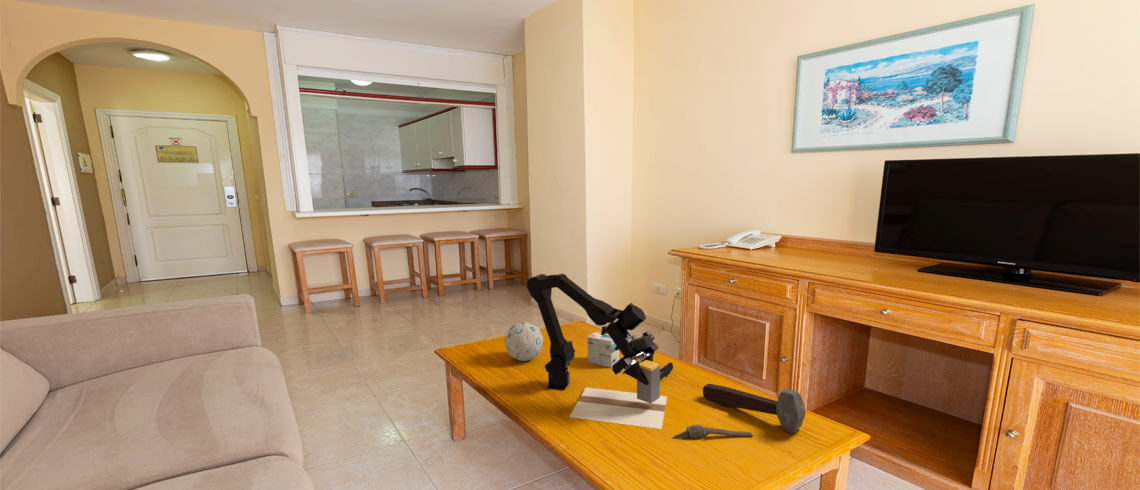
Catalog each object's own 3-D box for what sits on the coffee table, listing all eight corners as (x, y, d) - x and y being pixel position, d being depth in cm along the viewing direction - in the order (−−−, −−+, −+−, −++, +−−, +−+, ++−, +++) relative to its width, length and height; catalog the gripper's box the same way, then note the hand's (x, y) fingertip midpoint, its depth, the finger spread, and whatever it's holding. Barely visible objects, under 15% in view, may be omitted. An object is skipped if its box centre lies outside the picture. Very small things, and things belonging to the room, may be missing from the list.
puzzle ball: (523, 349, 194) (522, 315, 192) (551, 357, 185) (550, 321, 183) (497, 361, 182) (496, 324, 180) (526, 370, 173) (525, 331, 171)
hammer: (702, 411, 148) (799, 436, 126) (699, 376, 147) (796, 396, 125) (710, 406, 151) (806, 430, 129) (707, 372, 151) (803, 390, 128)
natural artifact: (670, 442, 127) (668, 427, 129) (751, 437, 127) (748, 421, 129) (672, 441, 123) (670, 425, 125) (756, 435, 124) (753, 419, 126)
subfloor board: (569, 419, 137) (569, 416, 137) (585, 389, 156) (585, 387, 156) (661, 431, 130) (661, 428, 130) (667, 398, 149) (667, 396, 149)
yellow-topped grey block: (636, 398, 142) (637, 364, 140) (645, 392, 146) (645, 359, 144) (651, 403, 139) (651, 368, 137) (659, 397, 142) (660, 363, 141)
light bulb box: (619, 362, 179) (619, 335, 177) (611, 368, 173) (611, 341, 172) (595, 357, 184) (595, 331, 183) (587, 363, 179) (586, 336, 177)
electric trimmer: (676, 371, 171) (676, 362, 170) (657, 386, 158) (657, 377, 158) (666, 368, 173) (666, 360, 173) (647, 383, 161) (647, 374, 160)
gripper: (620, 333, 134) (652, 379, 129) (653, 317, 148) (684, 358, 143) (598, 352, 141) (629, 397, 135) (632, 336, 155) (661, 376, 149)
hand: (652, 381), depth 140 cm, fingers closed on yellow-topped grey block, 5 cm apart
